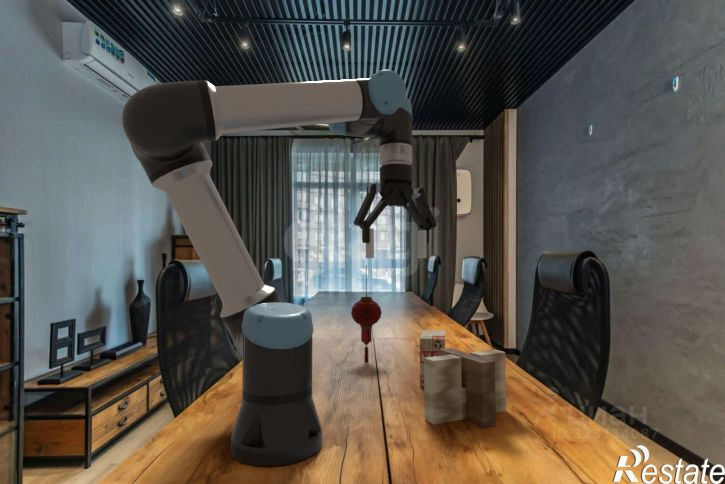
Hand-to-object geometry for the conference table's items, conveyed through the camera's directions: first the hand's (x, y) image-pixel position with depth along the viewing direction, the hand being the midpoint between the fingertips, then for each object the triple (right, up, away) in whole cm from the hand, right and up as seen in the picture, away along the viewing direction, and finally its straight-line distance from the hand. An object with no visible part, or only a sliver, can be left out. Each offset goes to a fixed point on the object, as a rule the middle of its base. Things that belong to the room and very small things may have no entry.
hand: (396, 258), depth 97 cm
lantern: (-7, -34, +35) cm, 49 cm away
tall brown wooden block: (+13, -31, -11) cm, 36 cm away
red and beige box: (+11, -33, +18) cm, 39 cm away
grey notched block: (+13, -31, -11) cm, 36 cm away
